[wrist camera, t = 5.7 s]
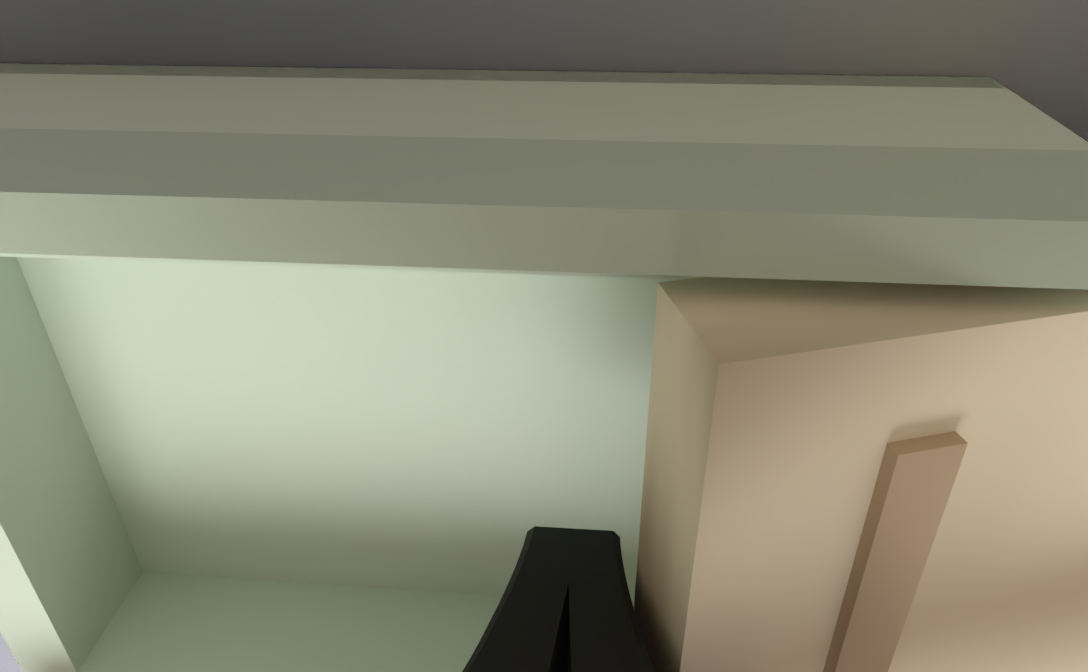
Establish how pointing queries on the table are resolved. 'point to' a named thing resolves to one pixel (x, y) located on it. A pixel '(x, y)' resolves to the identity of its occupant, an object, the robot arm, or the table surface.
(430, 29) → the table surface
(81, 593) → the green tray
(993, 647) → the cover plate
